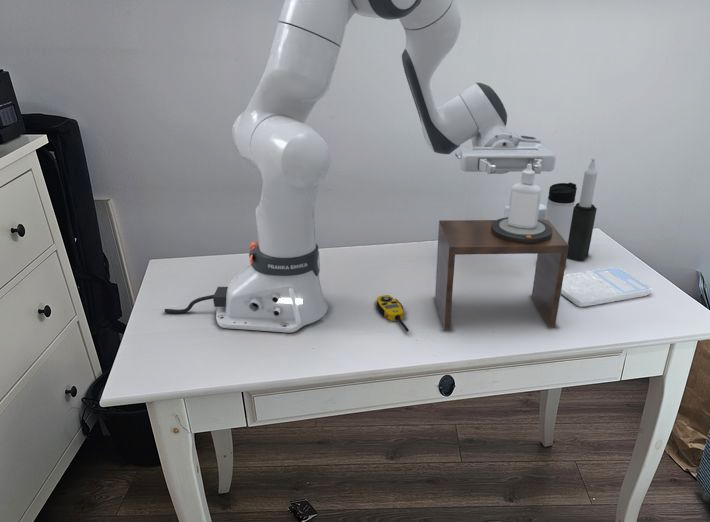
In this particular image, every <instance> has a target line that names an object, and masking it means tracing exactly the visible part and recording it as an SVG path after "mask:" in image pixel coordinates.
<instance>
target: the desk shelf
mask: <svg viewBox="0 0 710 522" xmlns="http://www.w3.org/2000/svg"><path fill="white" fill-rule="evenodd" d="M496 220H497V219H462V220H461V219H460V220H457V219H455V220H453V219H451V220H444V219H443V220H438V233H437V234H438V235H437V253H436V254H437V256H436V275H435V293H434V294H435V295H434V300H435V304H436V307H437V311H438V314H439V317H440V320H441V324H442V328H443V331H446V332H447V331H451V321H452V320H451V319H452V308H453V307H452V304H453V290H454V275H455V262H456V261H455V260H456V255H459V256H460V255H462V256H463V255H517V254H518V255H519V254H521V255H522V254H523V255H524V254H525V255H527V254H528V255H529V254H530V255H531V254H536V255H537V256H536V263H535V271H534V278H533V284H532V290H531V291H532V292H531V298H532V300H533V302H534V304H535V305H536V307H537V308H538V310H539V312H540V314H541V315H542V318H543V319H544V321H545V323H546V324H547V326H548V327H549V328H550V329H552V328H556V323H557V317H558V311H559V305H560V300H561V295H562V294H561V289H562V283H563V277H564V275H565V271H566V265H567V259H568V258H567V253H568V248H569V245H568V244H567V242H566V241H565V240H564V239H563V238H562V236H561V235H560V234H559V233H558V231H557V230H556V229H555V228H554V226H553V225H552V224H551V223H550V221H549V220H539V221H542V222H545V223H547V224H548V225H550V226H551V227H552V230H553V232H552V237H551V238H550V239H549V240H547V241H544V242H540V243H532V244H524V243H515V242H510V241H506V240H503V239H500V238H498V237H496V236H495V235H494V234H493V233H492V232H491V225H492V223H493V222H494V221H496Z"/></svg>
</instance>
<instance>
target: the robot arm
mask: <svg viewBox="0 0 710 522" xmlns="http://www.w3.org/2000/svg"><path fill="white" fill-rule="evenodd" d="M354 14H357V15H359V16H361V17H367V18H374V19H376V18H377V19H384V20H388V21H391V20H399V22H400V24H401V26H402V28H403V30H404V34H405V48H404V49H403V52H402V53H401V63H402V68H403V71H404V74H405V77H406V80H407V81H406V82H407V84H408V87H409V90H410V93H411V96H412V99H413V102H414V104H415V105H414V106H415V108H416V111H417V114H418V117H419V121H420V124H421V131H422V136H423V138H424V140H425V142H426V144H427V145H428V147H429V149H431V150H432V151H433V152H434V153H436V154H440V155H450V154H452V153H453V152H454V151H456V150H457V149H459V148H460V147H461V146H462V145H463V144H464V143H467V142H468V141H471V145H472V146H464V147H462V148H461V149H460V151H456V152H455V154H454V155H455V159H457V160H459V161H460V162H459V167H460V169H461V171H463V172H466V173H470V172H471V173H473V172H474V173H475V172H476V173H477V172H479V173H482V172H484V173H487V174H488V175H495V174H496V175H503V174H507V173H510V172H511V173H513V172H514V173H515V172H516V173H517V172H520V173H522V171H523V170H526V168H527V165H528V164H531V165H532V170H533V171H534V172H535V175H541V172H545V173H546V172H549V173H550V172H553V171H554V169H555V167H556V166H555V165H556V159H557V155H556V153H555V152H554V150H553V149H552V148H550V147H549V146H548V145H546V144H545V143H542V140H541V139H540V138H539V137H535V136H527V135H521V134H517V133H515V132H512V131H510V130H508V128H507V127H506V126H507V123H508V112H507V110H506V108H505V106H504V103H503V102H502V100H501V98H500V96H499V95H498V94H497V92H495V90H494V89H493V88H492V87H491V86H489V85H488V84H485V83H482V82H475V83H474V84H471V85H470V86H468V87H467V88H465V89H464V90H462V91H461V92H459V93H458V94H456V95H455V96H454V97H452V98H451V99H449V100H448V101H446V102H445V103H443V104H441V105H439V106H436V103H435V100H434V97H433V92H432V89H431V79H432V77H433V75H434V74H435V72H436V70H437V69H438V67H439V66H440V64H441V63H442V62H443V61H444V59H445V58H446V57H447V56H448V55H449V54H450V52H451V51H452V49H453V48H454V46H455V45H456V43H457V40H458V38H459V35H460V31H461V27H462V26H461V25H462V19H461V13H460V10H459V7H458V4H457V2H456V0H284V2H283V5H282V8H281V11H280V15H279V17H278V22H277V25H276V30H275V34H274V37H273V41H272V45H271V48H270V53H269V55H268V59H267V63H266V66H265V69H264V72H263V73H262V76H261V78H260V81H259V83H258V85H257V87H256V89H255V91H254V92H253V95H252V96H251V99H250V100H249V102H248V105H247V107H246V108H245V110H243V112H241V113H240V114H239V115H238V116H237V117H236V119H235V121H234V123H233V125H232V129H231V138H232V139H231V140H232V142H233V143H232V144H233V145H234V147H235V149H236V151H237V152H238V154H239V156H241V158H242V159H243V160H244V161H245V163H247V164H248V165H249V166H251V167H252V168H255V169H256V170H258V171H259V174H260V176H261V181H262V186H261V194H260V199H259V203H258V204H257V205H256V207H255V212H254V215H255V223H256V234H257V241H251V243H250V244H249V247H248V250H249V253H248V257H249V265H248V266H247V267H245V268H244V269H243V270H241V271H240V272H239V273H237V274H236V275H234V277H233V278H232V279H231V281H230V282H229V284H228V286H217V288H216V290H215V292H214V293H213V294H209V295H205V296H201V297H198V298H195V299H193V300H192V301H191V302H190V303H189V304H188V305H187V306H186V308H182V309H173V308H164V313H167V314H185V313H187V312H189V311H191V309H192V308H193V307H194V305H196V304H198V303H200V302H203V301H207V300H213V304H214V305H213V307H214V308H216V312H215V320H216V323H217V325H218V326H219V327H220V328H223V329H231V330H246V331H247V330H248V331H262V332H276V333H290V334H291V333H295V332H297V331H298V330H301V328H303V327H305V326H307V325H311V324H313V323H316V322H318V321H319V320H321V319H322V318H323V317H325V315H326V314H327V312H328V309H329V307H328V304H327V301H326V299H325V297H324V292H323V288H322V284H321V283H322V282H321V279H320V278H321V277H320V272H321V262H320V261H321V259H320V250H319V245H318V244H317V239H316V238H317V237H316V220H315V219H316V218H315V209H316V208H315V207H316V200H317V194H318V190H319V186H320V184H321V183H322V182H323V181H324V179H325V178H326V177H327V175H328V173H329V171H330V167H331V162H332V157H331V151H330V148H329V145H328V144H327V142H326V141H325V140H324V138H322V136H321V135H320V134H319V133H318V132H317V131H316V130H315V129H314V128H313V127H311V126H309V125H308V124H307V123H306V121H307V120H308V117H309V116H310V114H311V112H312V110H313V109H314V108H315V106H316V105H317V104H318V102H319V101H320V100H322V99H323V98H324V97H325V96H326V95H327V93H328V92H329V90H330V88H331V87H330V86H331V83H332V80H333V76H334V72H335V70H336V67H337V66H336V65H337V62H338V59H339V55H340V52H341V50H342V49H341V48H342V45H343V41H344V37H345V33H346V29H347V25H348V23H349V22H350V20H351V18H352V17H353V16H354Z"/></svg>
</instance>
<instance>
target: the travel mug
mask: <svg viewBox="0 0 710 522" xmlns="http://www.w3.org/2000/svg"><path fill="white" fill-rule="evenodd" d="M577 189H578V187H577V184H576V183H573V182H571V181H569V182H568V183H567V182H558V183H554V184H552V185H550V186H549V189H548V197H547V200H546V201H547V202H546V206H547V208H546V215H545V220H549V221H550V223H551V224H552V225H553V226H554V228H555V229H556V230H557V231H558V233H559V234H560V235H561V236H562V238H563V239H564V240H565V241H566V242H567V244H568V239H569V233H570V227H571V221H572V215H573V209H574V207H575V204H576V196H577V195H576V194H577Z"/></svg>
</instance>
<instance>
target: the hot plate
mask: <svg viewBox="0 0 710 522" xmlns="http://www.w3.org/2000/svg"><path fill="white" fill-rule="evenodd" d="M495 220H496V221H494V222H493V223H492V225H491V232H492V233H493V234H494V235H495V236H496V237H498V238H500V239H503V240H506V241H510V242H515V243H524V244H532V243H540V242H544V241H547V240H549V239H550V238H551V237H552V232H553V230H552V227H551V226H550V225H548V224H547V223H545V222H542V221H539V220H537V225H536V227H535V228H534V229H523V228H517V227H513V226H510V225H508V217H507V218H503V217H501V218H498V219H495Z"/></svg>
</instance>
